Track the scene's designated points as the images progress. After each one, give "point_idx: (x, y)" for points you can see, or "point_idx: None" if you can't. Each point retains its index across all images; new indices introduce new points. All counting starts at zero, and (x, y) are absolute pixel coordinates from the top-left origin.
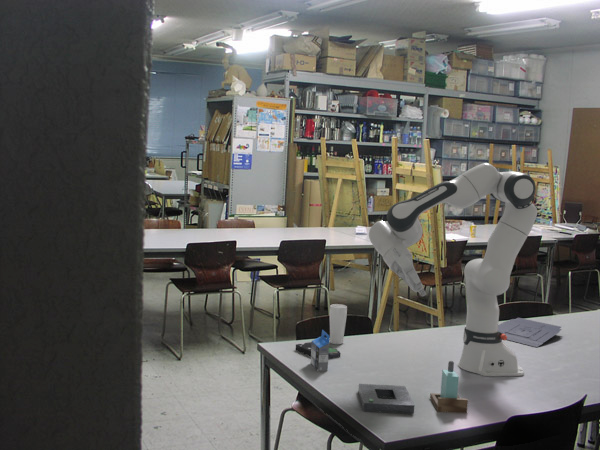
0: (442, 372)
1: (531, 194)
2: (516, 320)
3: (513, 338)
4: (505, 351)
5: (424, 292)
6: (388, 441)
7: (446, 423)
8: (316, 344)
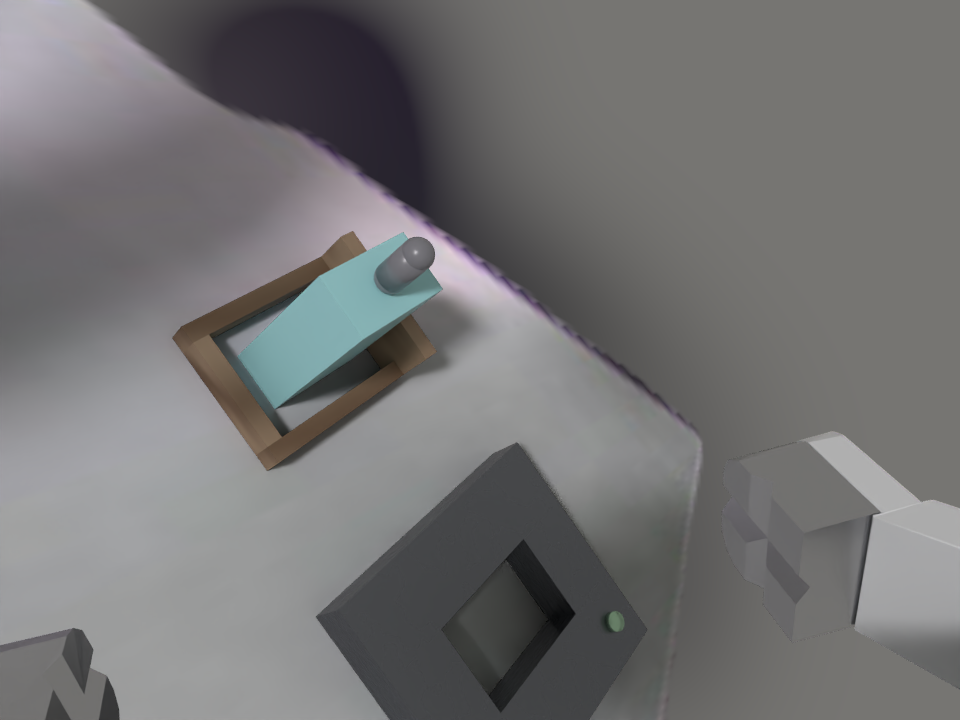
0: (361, 341)
1: None
2: None
3: None
4: None
5: (78, 665)
6: (695, 431)
7: (471, 314)
8: None
